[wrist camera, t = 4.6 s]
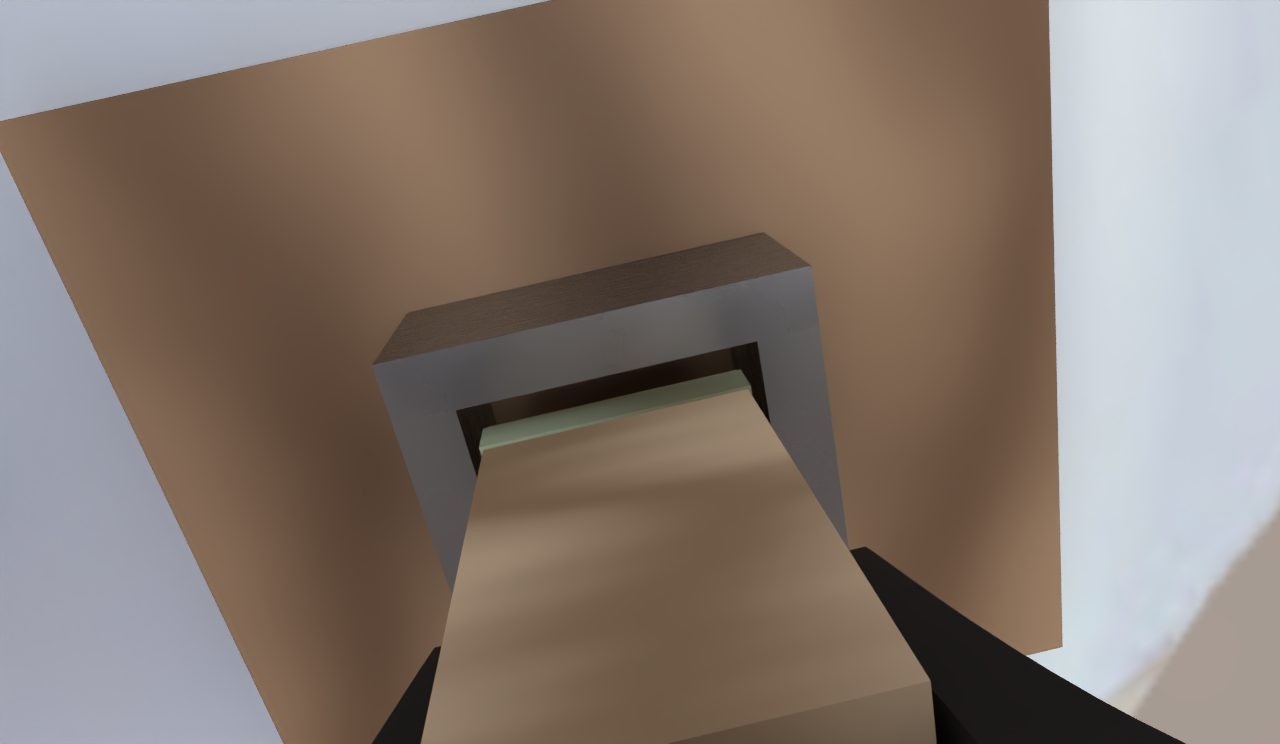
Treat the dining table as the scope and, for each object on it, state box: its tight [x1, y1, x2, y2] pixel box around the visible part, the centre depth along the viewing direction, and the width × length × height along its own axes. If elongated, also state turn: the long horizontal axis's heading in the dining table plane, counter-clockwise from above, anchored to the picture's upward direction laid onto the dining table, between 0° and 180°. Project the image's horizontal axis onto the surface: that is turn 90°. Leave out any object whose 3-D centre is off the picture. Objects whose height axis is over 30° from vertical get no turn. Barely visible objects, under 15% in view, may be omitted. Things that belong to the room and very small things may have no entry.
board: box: [0, 0, 1062, 744], centre depth 16 cm, size 18×16×1 cm
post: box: [421, 369, 937, 744], centre depth 10 cm, size 4×4×7 cm
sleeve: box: [371, 232, 849, 594], centre depth 15 cm, size 7×7×3 cm
